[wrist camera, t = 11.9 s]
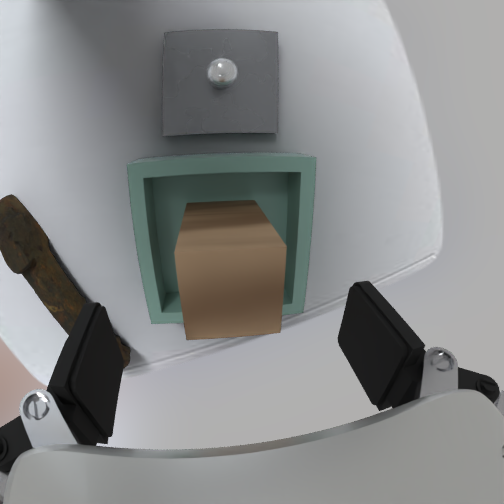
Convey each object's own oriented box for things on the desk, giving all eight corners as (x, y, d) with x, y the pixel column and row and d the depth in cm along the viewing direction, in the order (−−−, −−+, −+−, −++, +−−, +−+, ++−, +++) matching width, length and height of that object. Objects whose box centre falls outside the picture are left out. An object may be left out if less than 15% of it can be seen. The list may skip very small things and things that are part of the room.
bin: (139, 158, 19) (126, 164, 16) (299, 153, 21) (316, 157, 17) (157, 299, 24) (151, 323, 21) (291, 290, 25) (303, 312, 22)
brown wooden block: (186, 202, 20) (174, 252, 12) (254, 199, 21) (286, 246, 13) (191, 264, 22) (186, 339, 14) (253, 260, 23) (280, 332, 15)
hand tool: (136, 346, 26) (129, 379, 22) (108, 355, 26) (98, 387, 22) (33, 177, 18) (2, 189, 14) (7, 200, 18) (-22, 215, 14)
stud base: (166, 36, 15) (158, 17, 12) (274, 36, 16) (289, 18, 13) (164, 136, 19) (155, 137, 15) (274, 133, 20) (289, 133, 16)
